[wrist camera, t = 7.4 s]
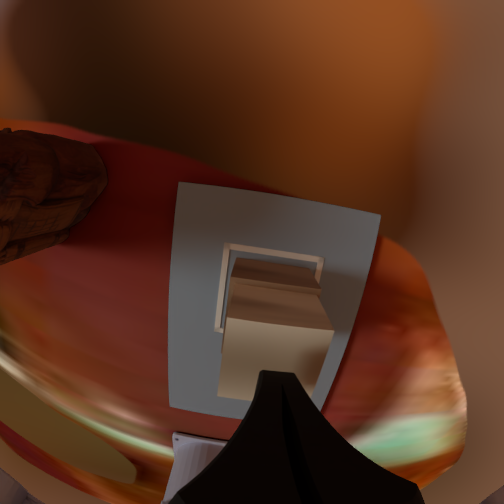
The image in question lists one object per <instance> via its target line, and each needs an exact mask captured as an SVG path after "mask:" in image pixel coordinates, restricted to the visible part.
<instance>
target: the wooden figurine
mask: <svg viewBox="0 0 504 504" xmlns="http://www.w3.org/2000/svg"><path fill="white" fill-rule="evenodd" d="M107 184H108V177H107V170H106V168H105V166H104V164H103V162H102V159H101V157H100V156H99V155H98V153H97V152H96V150H95V148H94V146H92V145H90V144H87V143H83V142H80V141H76V140H71V139H67V138H63V137H59V136H56V135H50V134H42V133H37V132H33V131H28V130H17V131H14V132H12V131H11V128H4V129H3V130H1V131H0V265H2V264H5V263H8V262H10V261H13V260H15V259H19V258H22V257H24V256H27V255H30V254H32V253H35V252H38V251H40V250H43V249H45V248H49V247H51V246H55V245H57V244H59V243H61V242H63V241H64V240H65V239H66V238H68V236H69V228H70V227H71V226H73V225H75V224H77V223H78V222H79V221H81V220H82V219H83V218H84V217H85V216H86V215H87V214H88V212H89V210H90V205H91V204H92V203H93V202H94V201H95V200H96V198H97V197H98V196H99V195H100V194H101V192H102V191H103V189H104V188H105V186H106V185H107Z"/></svg>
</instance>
